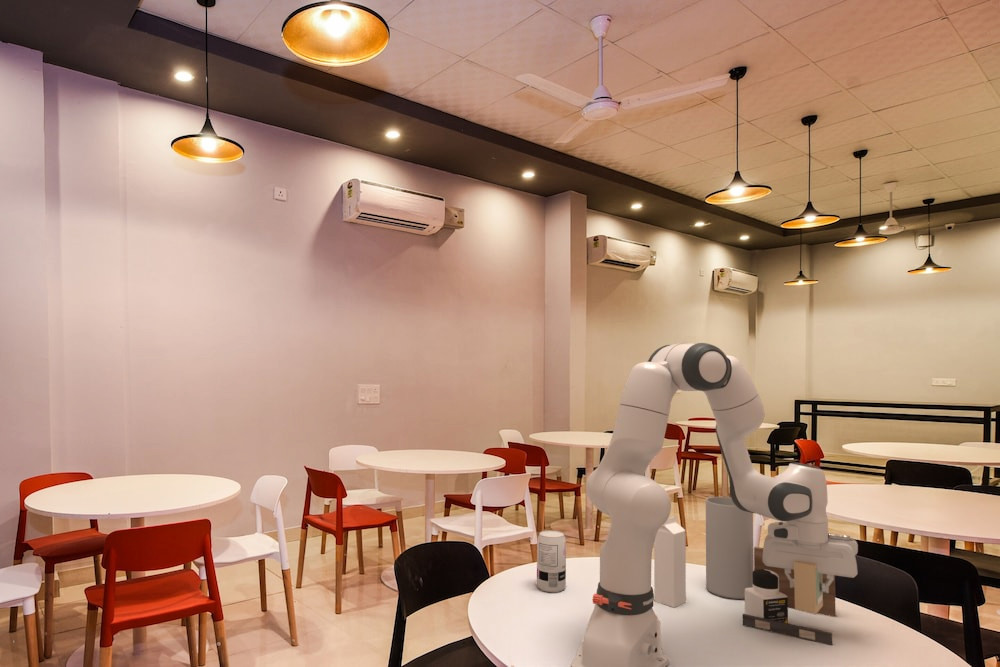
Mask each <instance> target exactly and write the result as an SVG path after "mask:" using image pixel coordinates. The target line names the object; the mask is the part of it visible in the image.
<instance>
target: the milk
mask: <svg viewBox="0 0 1000 667" xmlns="http://www.w3.org/2000/svg"><path fill="white" fill-rule="evenodd" d="M686 533H687V532H686V529H684V527H682V526H681V525H680V524H679V523H678V522H677V517H676V516H672V517H668V519H667V521H666V522H665V523H664V525H662V526H661V527H660V528H659V529H658V532H657V534H656V537H655V541H654V545H653V548H654V552H653V553H654V563H653V564H654V567H653V568H654V569H653V570H654V572H653V573H654V585H653V586H654V588H653V594H654V600H653V602H656V603H659V604H662V605H665V606H668V607H671V608H676V607H678V606H681V605H682V604H685V603H686V600H687V595H686V594H687V592H686V590H687V589H686V588H687V587H686V586H687V585H686V584H687V582H686V579H687V577H686V576H687V575H686V573H687V572H686V571H687V570H686V569H687V568H686V567H687V564H686V563H687V562H686V560H687V559H686V558H687V557H686V556H687V554H686V550H687V548H686V546H687V545H686V537H687V536H686Z"/></svg>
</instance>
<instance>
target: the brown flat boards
mask: <svg viewBox="0 0 1000 667" xmlns="http://www.w3.org/2000/svg"><path fill="white" fill-rule="evenodd" d="M753 561H754V571H755V570H758V569H765V570H770V571H773V572H775V573H776V574H778V576H779V592H781V593H783V594H785V595H787V597H788V609H789V608H790V609H794V610H795V591H794V588H790V581H789V579H788V578H787V576H786V574H785V569H784V568H777V567H769V566H766V565H765V564H764V563H763V547H760V546H753ZM790 575H791V577H792V579H794V570H792V569H791V574H790ZM826 581H827V576H826V574H822V583H825V582H826ZM836 608H837V606H836V575H834V580H833V581H832V583H831V584H830V586H829V593H823V606H822V608H821V609H820V610H819V611H818V613H817V614H819V615H823V614H824V615H823V616H828V615H830V616H829V617H833V616H837V614H836V613H837V612H836V610H837V609H836ZM742 626H744V627H745V626H746V627H749V628H754V629H759V630H762V631H767V632H772V633H776V634H780V635H785V636H789V637H794V638H798V639H802V640H806V641H812V642H816V643H820V644H825V645H829V646H833V633H832V632H831V631H826V630H820V629H817V628H816V629H815V628H811V627H808V626H803V625H802V626H801V625H797V624H794V623H789V622H788V623H784V622H780V621H775V620H770V619H766V618H761V617H756V616H752V615H747V614H745V613H742Z"/></svg>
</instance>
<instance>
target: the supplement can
mask: <svg viewBox="0 0 1000 667" xmlns="http://www.w3.org/2000/svg"><path fill="white" fill-rule="evenodd" d="M536 541H537V542H536V586H537V587H538V589H539V590H540V591H542V592H546V593H559V592H562V591H564V589H565V588H566V587H567V585H566V584H567V583H566V582H567V580H566V579H567V577H566V576H567V574H566V573H567V569H566V568H567V538H566V536H565V534H564V532H562V531H559V530H550V529H549V530H542V531H540V532H539V534H538V536H537V539H536Z"/></svg>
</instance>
